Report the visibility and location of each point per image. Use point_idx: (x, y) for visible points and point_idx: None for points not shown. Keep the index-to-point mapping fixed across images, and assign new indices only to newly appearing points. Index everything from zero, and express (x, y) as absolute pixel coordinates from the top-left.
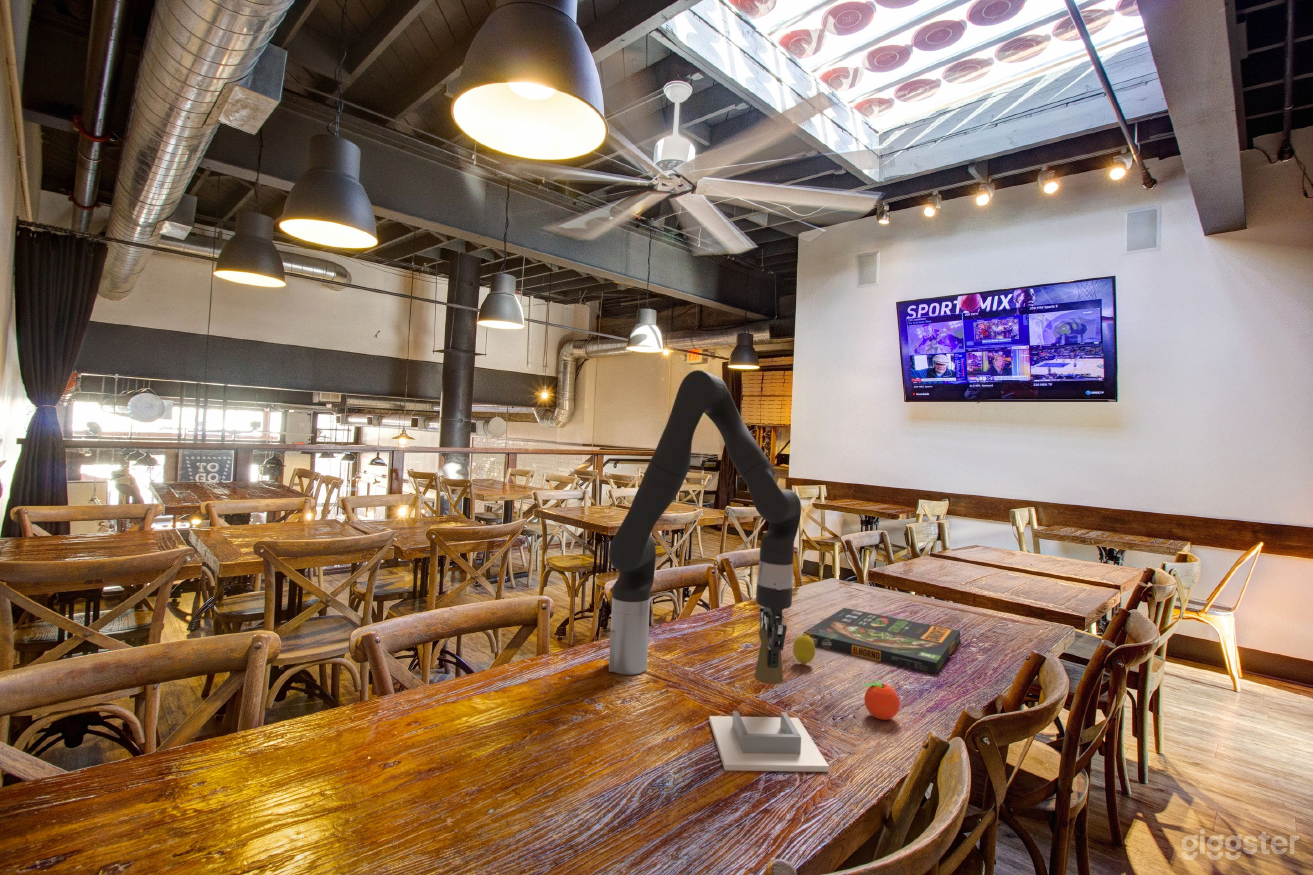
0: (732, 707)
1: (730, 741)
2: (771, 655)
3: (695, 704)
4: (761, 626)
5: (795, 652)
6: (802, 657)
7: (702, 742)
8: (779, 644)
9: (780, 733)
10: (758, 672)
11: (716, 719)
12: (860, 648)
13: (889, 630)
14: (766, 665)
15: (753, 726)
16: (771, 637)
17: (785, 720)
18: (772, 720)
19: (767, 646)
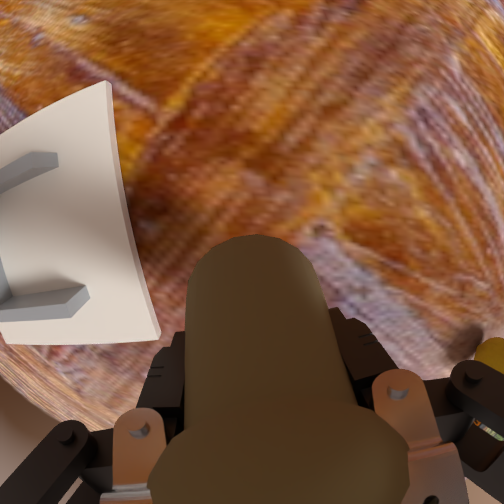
0: (216, 142)
1: (5, 160)
2: (141, 395)
3: (217, 35)
4: (438, 481)
5: (495, 346)
6: (480, 358)
7: (22, 98)
8: (96, 490)
9: (58, 281)
10: (214, 262)
11: (88, 103)
12: (478, 421)
13: (497, 434)
14: (186, 325)
15: (68, 211)
16: (39, 498)
17: (34, 306)
18: (115, 268)
19: (186, 417)
